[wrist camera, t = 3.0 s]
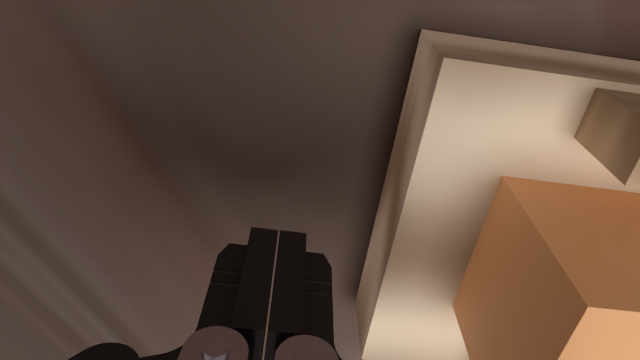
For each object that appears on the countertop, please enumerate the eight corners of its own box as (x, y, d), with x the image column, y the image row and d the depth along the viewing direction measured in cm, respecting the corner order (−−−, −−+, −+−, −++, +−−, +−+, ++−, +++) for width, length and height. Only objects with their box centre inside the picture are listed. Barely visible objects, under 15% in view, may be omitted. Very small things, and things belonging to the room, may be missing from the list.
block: (502, 175, 13) (588, 306, 9) (670, 197, 14) (830, 333, 9) (452, 305, 16) (501, 457, 12) (595, 320, 16) (695, 473, 12)
